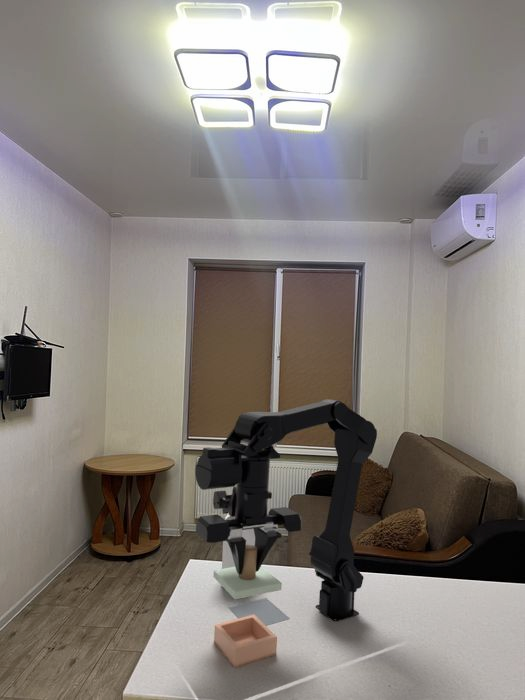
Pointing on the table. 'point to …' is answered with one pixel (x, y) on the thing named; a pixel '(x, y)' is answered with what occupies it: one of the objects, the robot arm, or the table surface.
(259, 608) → the mat
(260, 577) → the lid
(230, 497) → the robot arm
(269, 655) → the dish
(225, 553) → the milk carton
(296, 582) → the table surface
